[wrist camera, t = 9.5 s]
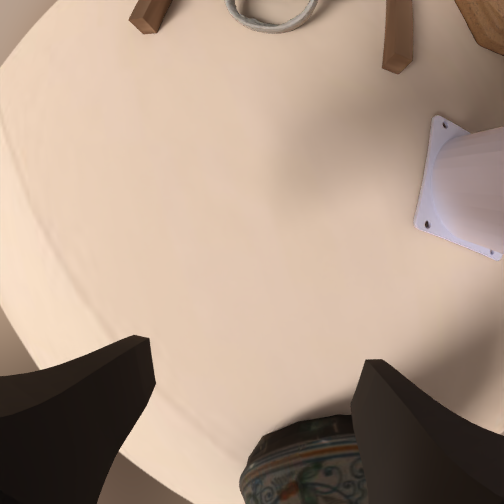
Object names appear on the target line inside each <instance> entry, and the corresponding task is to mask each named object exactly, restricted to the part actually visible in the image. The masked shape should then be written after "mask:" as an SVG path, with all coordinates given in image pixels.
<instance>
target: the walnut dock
mask: <svg viewBox="0 0 504 504" xmlns="http://www.w3.org/2000/svg"><path fill="white" fill-rule="evenodd" d="M171 2H172V0H139V1H138V2H137V4H136V6H135V8H134V10H133V12H132V14H131V16H130V18H129V21H130V22H131V23H132V24H133V25H134V26H135V27H136V28H137V29H139V30H140V31H141V32H142V33H143V34H152V33H157V31H158V29H159V27H160V25H161V22H162V20H163V18H164V16H165V14H166V12H167V10H168V8H169V6H170V4H171ZM412 58H413V12H412V0H387V2H386V27H385V42H384V53H383V63H382V68H383V69H386V70H388V71H391V72H393V73H396V74H399V73H400V72H401V71H402V70H403V69H404V68H405V67H406V66H407V65H408V64H410V63H411V62H412Z"/></svg>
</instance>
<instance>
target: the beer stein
mask: <svg viewBox="0 0 504 504" xmlns="http://www.w3.org/2000/svg"><path fill="white" fill-rule="evenodd" d="M239 487H240V491H241V494H242V496H243V498H244V501H245V504H368V491H367V484H366V478H365V474H364V470H363V466H362V461H361V457H360V453H359V449H358V445H357V441H356V437H355V433H354V429H353V421H352V415H335V416H330V417H324V418H319V419H313V420H307V421H300V422H297V423H295V424H292V425H290V426H288V427H285V428H283V429H280V430H278V431H275V432H273V433H270V434H268V435H265V436H263V437H262V438H261V440H260V441H259V443H258V444H257V446H256V447H255V449H254V450H253V452H252V453H251V455H250V456H249V458H248V462H247V466H246V468H245V469H244V471H243V473H242V474H241V477H240V481H239Z"/></svg>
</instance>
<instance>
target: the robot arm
mask: <svg viewBox="0 0 504 504" xmlns="http://www.w3.org/2000/svg"><path fill="white" fill-rule="evenodd" d="M443 123H444V124H445V126H446V128H444V127H443ZM426 221H428V226H427V227H426V228H425V222H426ZM413 223H414V226H415V228H417V229H419V230H421V231H424V232H427V233H430V234H432V235H435V236H438V237H440V238H443V239H446V240H448V241H451V242H453V243H456V244H458V245H461V246H463V247H466V248H468V249H471V250H473V251H475V252H478V253H480V254H482V255H485V256H487V257H489V258H492V259H494V260H496V261H499V260H500V259H501V258H502V255H503V254H504V126H502V127H498V128H493V129H489V130H485V131H480V132H476V133H472V134H471V133H469V132H468V131H466V130H464V129H463V128H461V127H459V126H458V125H456V124H454V123H452V122H451V121H449V120H447V119H445V118H443V117H441V116H439V115H436V116H434V117H433V118H432V121H431V130H430V138H429V145H428V152H427V158H426V164H425V170H424V175H423V180H422V185H421V190H420V195H419V199H418V204H417V208H416V212H415V216H414V221H413ZM490 251H491V253H490ZM155 385H156V381H155V375H154V369H153V362H152V355H151V348H150V340H149V338H146V337H141V336H137V335H132V336H129V337H127V338H124V339H122V340H119V341H117V342H115V343H112V344H110V345H108V346H105V347H103V348H101V349H98V350H96V351H94V352H91V353H89V354H87V355H84V356H82V357H79V358H76V359H74V360H71V361H68V362H66V363H63V364H60V365H57V366H54V367H50V368H47V369H43V370H39V371H35V372H30V373H24V374H17V375H10V376H0V504H97V501H98V498H99V495H100V492H101V490H102V487H103V484H104V482H105V479H106V477H107V474H108V472H109V470H110V467H111V465H112V463H113V461H114V458H115V456H116V455H117V453H118V451H119V449H120V448H121V446H122V444H123V443H124V441H125V440H126V438H127V436H128V435H129V433H130V432H131V430H132V428H133V427H134V425H135V424H136V422H137V420H138V419H139V417H140V416H141V414H142V412H143V411H144V409H145V407H146V406H147V403H148V401H149V399H150V397H151V394H152V392H153V390H154V387H155ZM351 412H352V421H353V429H354V433H355V437H356V441H357V445H358V449H359V453H360V457H361V461H362V466H363V470H364V474H365V478H366V484H367V491H368V504H504V436H503V435H500V434H497V433H494V432H492V431H489V430H487V429H484V428H482V427H480V426H477V425H475V424H473V423H471V422H469V421H468V420H466V419H464V418H462V417H460V416H458V415H457V414H455V413H453V412H452V411H450V410H449V409H447V408H446V407H444V406H443V405H441V404H440V403H438V402H437V401H435V400H434V399H433V398H431V397H430V396H429V395H427V394H426V393H425V392H423V391H422V390H421V389H419V388H418V387H417V386H416V385H414V384H413V383H412V382H411V381H409V380H408V379H407V378H406V377H404V376H403V375H402V374H401V373H400V372H398V371H397V370H396V369H395V368H393V367H392V366H391V365H389V364H388V363H387V362H385V361H384V360H382V359H373V360H365V363H364V366H363V370H362V373H361V376H360V379H359V382H358V385H357V388H356V391H355V394H354V396H353V399H352V402H351Z"/></svg>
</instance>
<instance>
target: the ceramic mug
mask: <svg viewBox="0 0 504 504" xmlns="http://www.w3.org/2000/svg"><path fill="white" fill-rule="evenodd" d="M317 2H318V0H310V1H309V3H308V5H307V6H306V8H305V9H304V11H303V12H302V13H301V14H299V15H298V16H296V17H295V18H293V19H290V20H289V21H288V22H286V23H284V24H281V25H274V24H268V23H263V22H259V21H258V20H256V19H255V18H247V17H245V16H244V15H242V14H239V13H238V11H237V9H236V5H235V0H225V4H226V6H227V9H228V11H229V13H230V14H231V15H232V17H233V18H234V19H235V20H237V21H238V22H239V23H240V24H242V25H243V26H245V27H247V28H249V29H251V30H254V31H257V32H263V33H283V32H288V31H291V30H294V29H296V28H297V27H299V26H300V25H302V24H303V23H305V22H306V21H307V20H308V18H309V17H310V16H311V14H312V13H313V11H314V9H315V7H316V5H317Z"/></svg>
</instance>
